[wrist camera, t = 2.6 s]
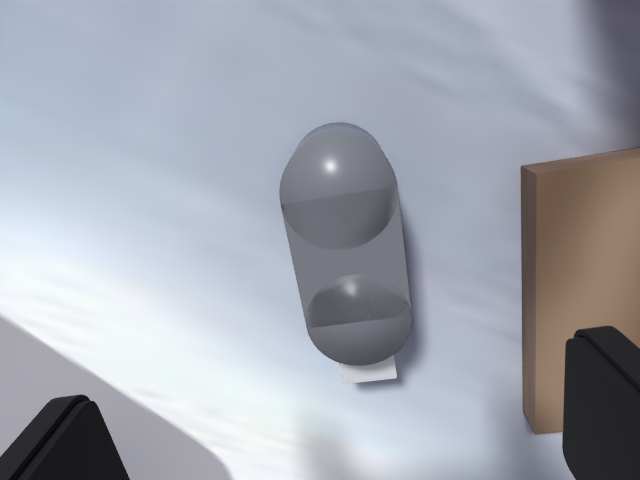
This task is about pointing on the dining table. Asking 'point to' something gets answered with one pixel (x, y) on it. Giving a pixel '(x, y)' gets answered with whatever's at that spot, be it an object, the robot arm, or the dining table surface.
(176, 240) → the dining table surface
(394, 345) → the grey double dome block
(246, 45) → the dining table surface
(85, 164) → the dining table surface
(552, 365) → the walnut board
